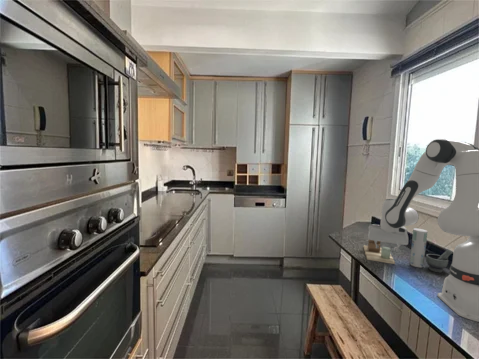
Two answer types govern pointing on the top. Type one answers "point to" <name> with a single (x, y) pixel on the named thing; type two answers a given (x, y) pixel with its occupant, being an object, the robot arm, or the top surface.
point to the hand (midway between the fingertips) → (386, 249)
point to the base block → (373, 247)
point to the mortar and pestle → (438, 261)
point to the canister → (385, 252)
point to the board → (377, 256)
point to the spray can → (418, 247)
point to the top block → (374, 242)
